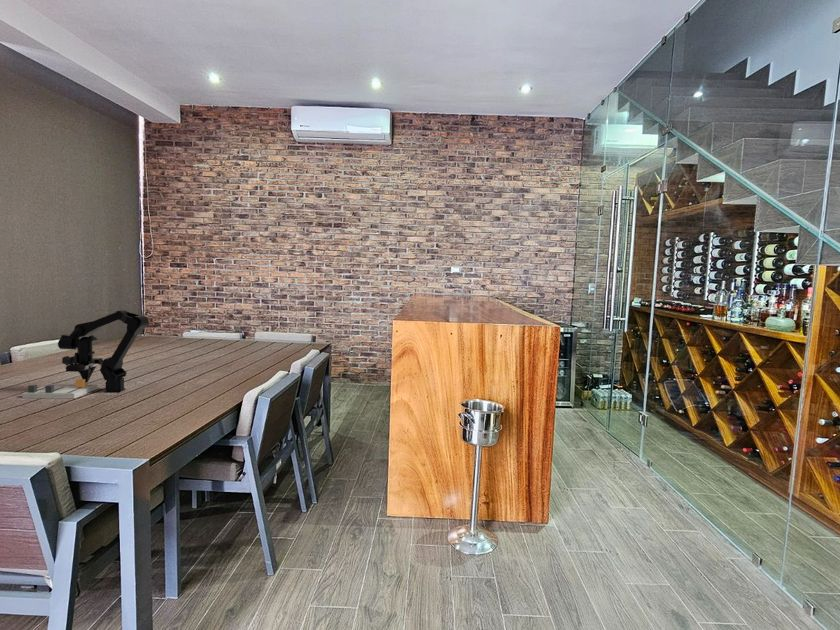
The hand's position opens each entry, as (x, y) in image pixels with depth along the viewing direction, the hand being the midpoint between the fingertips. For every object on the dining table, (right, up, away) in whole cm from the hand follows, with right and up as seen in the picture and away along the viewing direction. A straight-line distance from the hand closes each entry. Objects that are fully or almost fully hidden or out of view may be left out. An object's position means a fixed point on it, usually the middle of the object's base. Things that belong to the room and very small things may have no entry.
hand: (85, 382), depth 215 cm
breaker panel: (-6, -4, -6) cm, 10 cm away
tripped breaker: (0, -1, -4) cm, 4 cm away
